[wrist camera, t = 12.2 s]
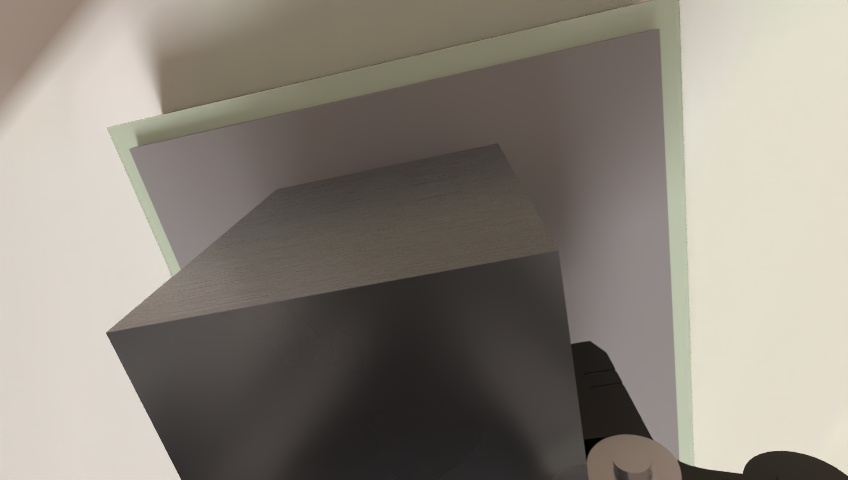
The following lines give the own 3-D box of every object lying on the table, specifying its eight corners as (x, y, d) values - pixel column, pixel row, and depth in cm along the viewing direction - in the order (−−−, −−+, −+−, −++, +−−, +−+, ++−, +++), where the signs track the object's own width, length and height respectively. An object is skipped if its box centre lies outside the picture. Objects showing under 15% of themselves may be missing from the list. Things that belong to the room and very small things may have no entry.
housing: (276, 189, 11) (106, 332, 6) (498, 143, 11) (558, 251, 5) (384, 512, 15) (346, 802, 9) (555, 490, 14) (629, 784, 8)
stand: (300, 464, 20) (276, 533, 17) (161, 114, 15) (96, 130, 12) (661, 414, 18) (700, 480, 15) (636, 3, 13) (687, -8, 11)
